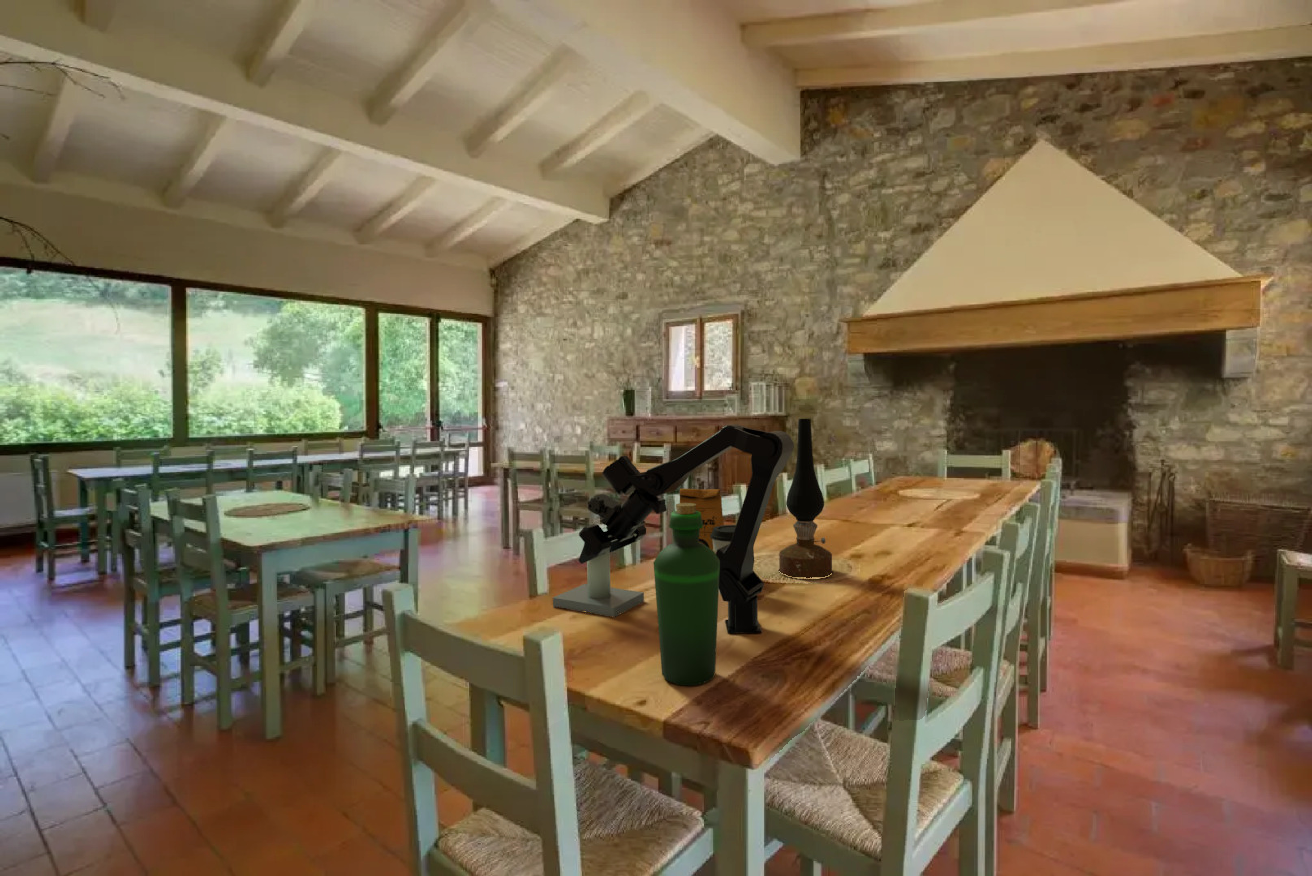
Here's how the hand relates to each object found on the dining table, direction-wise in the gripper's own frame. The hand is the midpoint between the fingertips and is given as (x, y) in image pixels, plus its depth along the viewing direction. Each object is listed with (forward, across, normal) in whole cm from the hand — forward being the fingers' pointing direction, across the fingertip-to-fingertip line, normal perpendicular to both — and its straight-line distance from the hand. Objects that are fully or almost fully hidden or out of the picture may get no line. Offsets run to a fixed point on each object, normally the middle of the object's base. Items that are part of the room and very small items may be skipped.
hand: (592, 557), depth 145 cm
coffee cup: (-10, -20, +25) cm, 34 cm away
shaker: (+5, 0, +7) cm, 8 cm away
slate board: (+6, 0, +8) cm, 10 cm away
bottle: (-18, +25, +33) cm, 45 cm away
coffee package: (-1, -32, +15) cm, 36 cm away
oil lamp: (-17, -45, +32) cm, 57 cm away
